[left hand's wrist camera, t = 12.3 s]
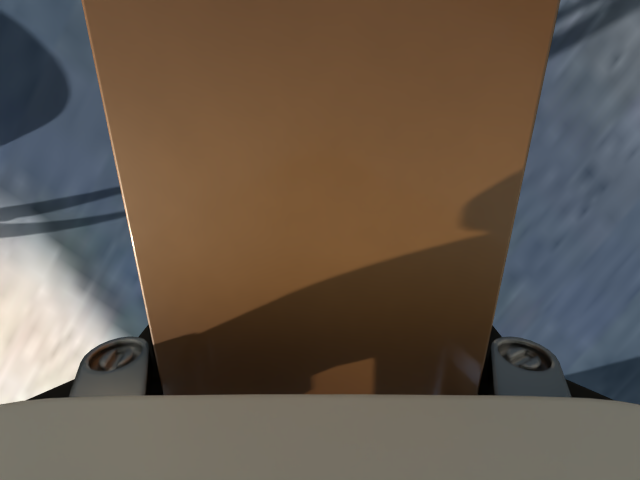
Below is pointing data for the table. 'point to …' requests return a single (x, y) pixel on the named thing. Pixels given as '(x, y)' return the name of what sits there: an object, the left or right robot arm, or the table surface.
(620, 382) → the table surface
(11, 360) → the table surface
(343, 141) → the bar
